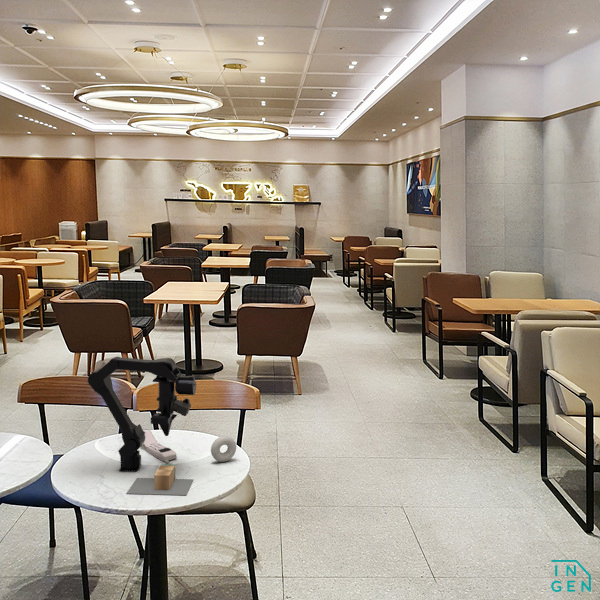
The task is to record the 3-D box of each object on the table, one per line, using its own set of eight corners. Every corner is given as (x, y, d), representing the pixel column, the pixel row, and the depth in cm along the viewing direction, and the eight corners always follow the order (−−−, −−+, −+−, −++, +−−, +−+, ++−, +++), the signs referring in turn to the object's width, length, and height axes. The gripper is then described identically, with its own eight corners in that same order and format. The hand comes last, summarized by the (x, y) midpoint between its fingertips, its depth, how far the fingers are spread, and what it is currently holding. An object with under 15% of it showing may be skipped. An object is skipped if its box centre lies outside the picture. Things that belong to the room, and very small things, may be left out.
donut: (212, 465, 247) (212, 439, 246) (209, 462, 251) (209, 436, 249) (237, 461, 252) (237, 435, 251) (234, 457, 255) (234, 432, 254)
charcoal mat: (126, 494, 221) (126, 493, 221) (137, 478, 234) (137, 477, 234) (186, 495, 221) (186, 494, 221) (193, 480, 234) (193, 479, 234)
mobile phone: (149, 429, 270) (180, 446, 250) (150, 443, 270) (180, 461, 251) (136, 432, 266) (165, 449, 247) (136, 446, 267) (166, 465, 248)
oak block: (161, 477, 235) (154, 489, 225) (161, 464, 234) (154, 475, 224) (175, 478, 234) (169, 489, 225) (175, 464, 234) (169, 475, 224)
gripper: (181, 402, 229) (181, 445, 231) (195, 388, 247) (195, 428, 249) (150, 400, 230) (150, 444, 232) (165, 386, 248) (165, 427, 250)
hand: (166, 435), depth 241 cm, fingers closed
